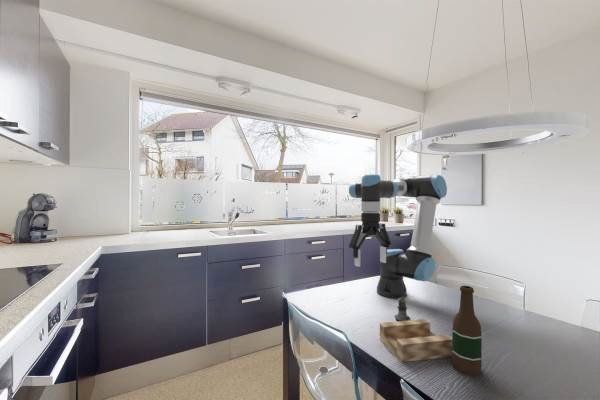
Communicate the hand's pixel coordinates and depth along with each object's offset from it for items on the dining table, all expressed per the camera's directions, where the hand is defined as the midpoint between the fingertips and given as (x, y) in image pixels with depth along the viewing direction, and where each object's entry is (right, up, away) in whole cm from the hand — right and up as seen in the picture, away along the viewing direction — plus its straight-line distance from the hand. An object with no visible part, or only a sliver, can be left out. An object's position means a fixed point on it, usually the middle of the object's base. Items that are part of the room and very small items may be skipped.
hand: (370, 264), depth 109 cm
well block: (+10, -23, -19) cm, 32 cm away
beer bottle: (+20, -24, -30) cm, 43 cm away
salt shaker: (+11, -24, -5) cm, 26 cm away
